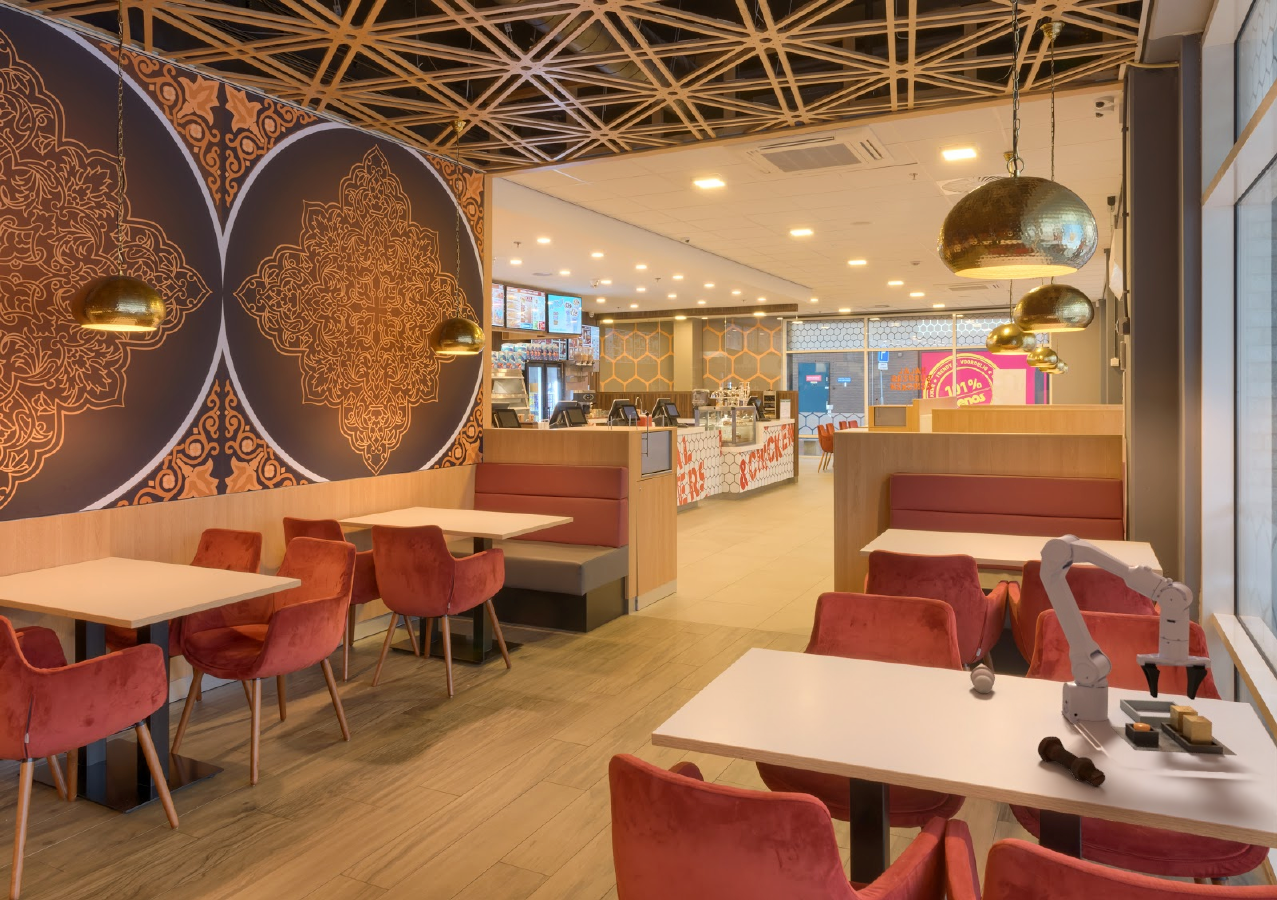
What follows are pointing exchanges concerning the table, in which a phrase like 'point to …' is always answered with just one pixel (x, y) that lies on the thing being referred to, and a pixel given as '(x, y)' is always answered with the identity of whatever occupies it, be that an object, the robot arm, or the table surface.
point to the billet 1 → (1179, 716)
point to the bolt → (1070, 761)
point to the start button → (1141, 727)
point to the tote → (1146, 704)
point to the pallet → (1166, 741)
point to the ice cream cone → (982, 679)
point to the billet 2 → (1197, 730)
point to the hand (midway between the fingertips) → (1172, 697)
